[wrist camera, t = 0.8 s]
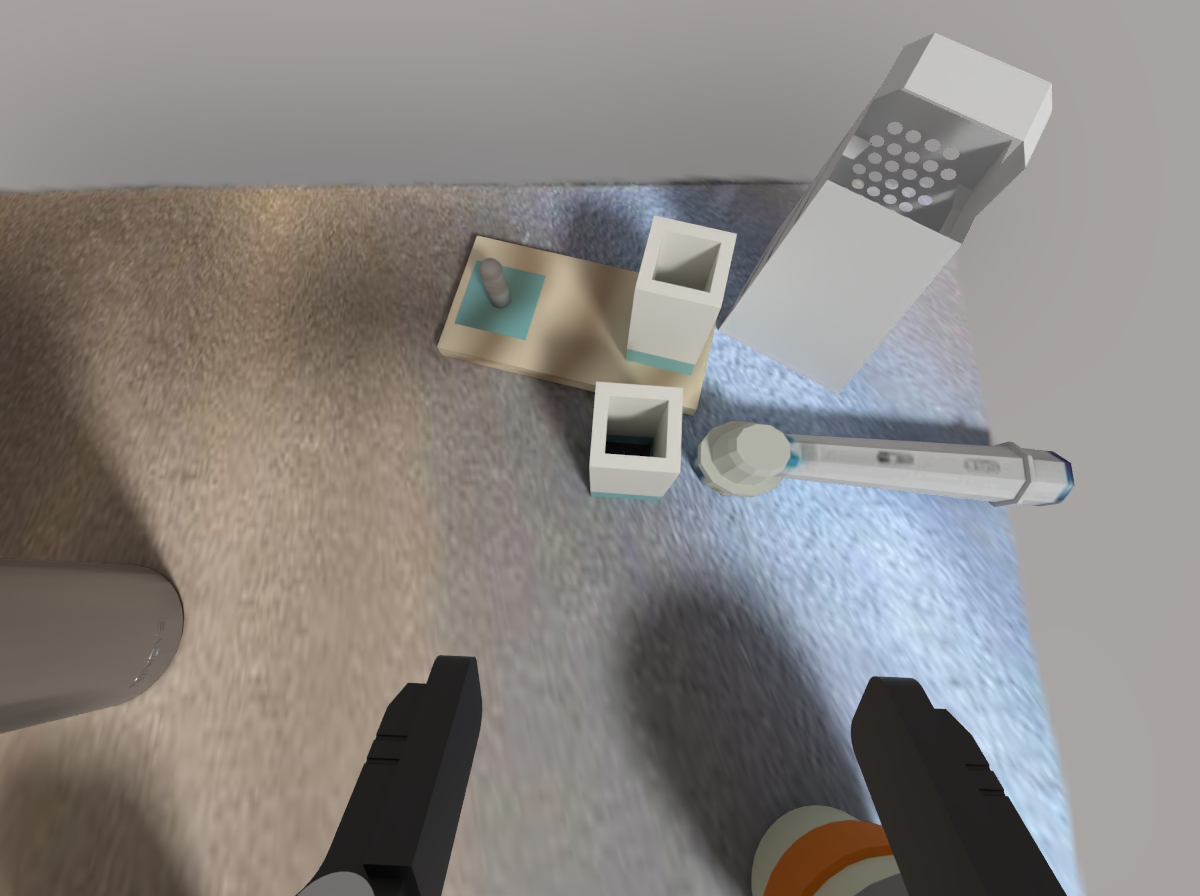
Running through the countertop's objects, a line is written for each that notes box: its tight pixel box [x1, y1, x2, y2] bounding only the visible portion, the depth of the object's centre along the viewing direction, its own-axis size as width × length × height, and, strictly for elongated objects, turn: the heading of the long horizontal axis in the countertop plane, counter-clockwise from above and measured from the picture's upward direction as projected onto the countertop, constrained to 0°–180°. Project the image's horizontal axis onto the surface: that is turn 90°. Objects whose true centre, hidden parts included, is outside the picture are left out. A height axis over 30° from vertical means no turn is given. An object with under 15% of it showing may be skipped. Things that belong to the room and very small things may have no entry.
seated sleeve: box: [625, 216, 737, 376], centre depth 36 cm, size 5×5×10 cm
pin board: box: [437, 236, 717, 416], centre depth 39 cm, size 20×10×6 cm, turn 76°
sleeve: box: [589, 382, 683, 501], centre depth 35 cm, size 5×5×10 cm
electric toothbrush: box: [695, 420, 1074, 507], centre depth 38 cm, size 5×7×25 cm
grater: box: [718, 33, 1052, 395], centre depth 33 cm, size 10×10×20 cm
